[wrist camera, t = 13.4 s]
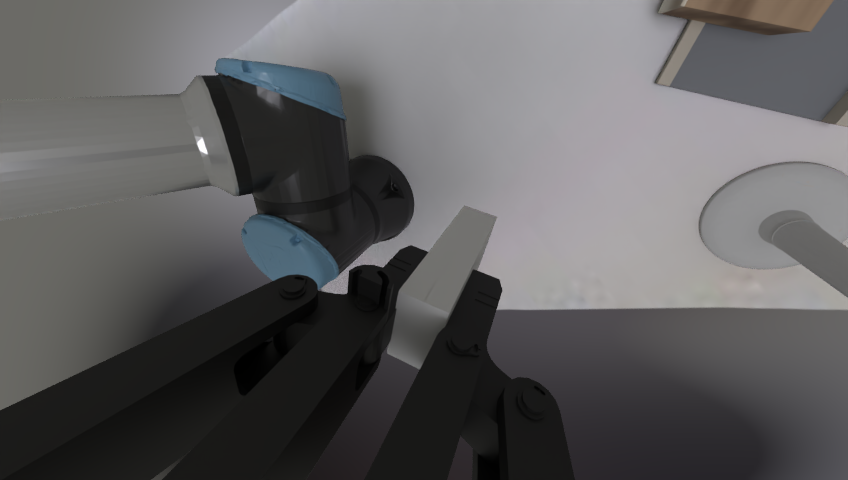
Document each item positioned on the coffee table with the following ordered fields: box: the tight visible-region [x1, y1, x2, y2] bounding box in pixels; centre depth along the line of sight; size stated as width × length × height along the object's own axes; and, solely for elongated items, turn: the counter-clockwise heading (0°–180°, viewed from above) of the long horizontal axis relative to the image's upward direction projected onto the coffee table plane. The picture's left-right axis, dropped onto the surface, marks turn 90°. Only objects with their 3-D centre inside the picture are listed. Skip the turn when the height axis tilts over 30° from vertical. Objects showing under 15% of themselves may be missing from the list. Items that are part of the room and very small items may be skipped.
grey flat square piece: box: [655, 0, 848, 127], centre depth 27 cm, size 16×16×2 cm
